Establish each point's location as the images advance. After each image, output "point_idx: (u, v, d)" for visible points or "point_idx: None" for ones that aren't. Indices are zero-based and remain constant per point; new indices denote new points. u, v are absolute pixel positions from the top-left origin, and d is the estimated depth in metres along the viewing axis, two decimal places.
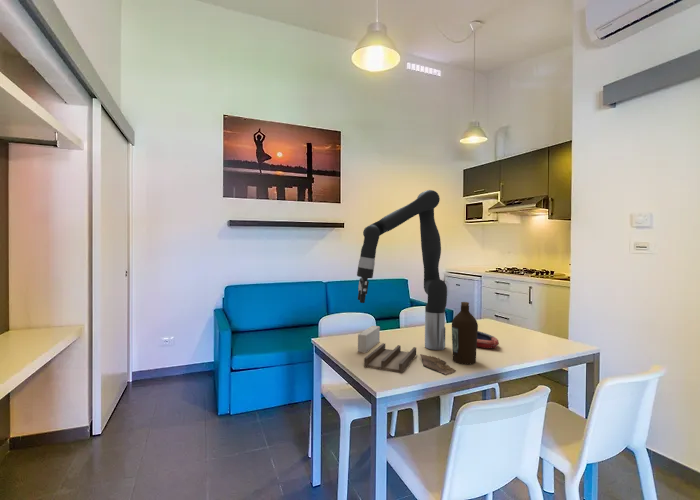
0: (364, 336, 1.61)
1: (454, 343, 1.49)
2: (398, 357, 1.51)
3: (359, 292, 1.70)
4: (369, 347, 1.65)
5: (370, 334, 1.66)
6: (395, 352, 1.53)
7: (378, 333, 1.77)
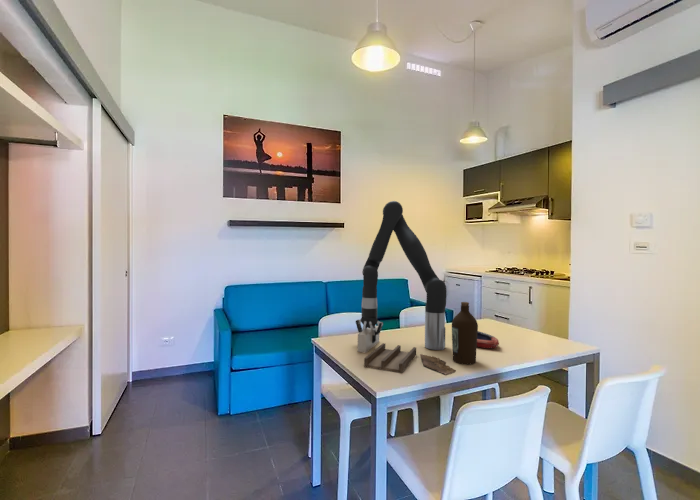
0: (364, 336, 1.61)
1: (454, 343, 1.49)
2: (398, 357, 1.51)
3: None
4: (369, 347, 1.65)
5: (370, 334, 1.66)
6: (395, 352, 1.53)
7: None
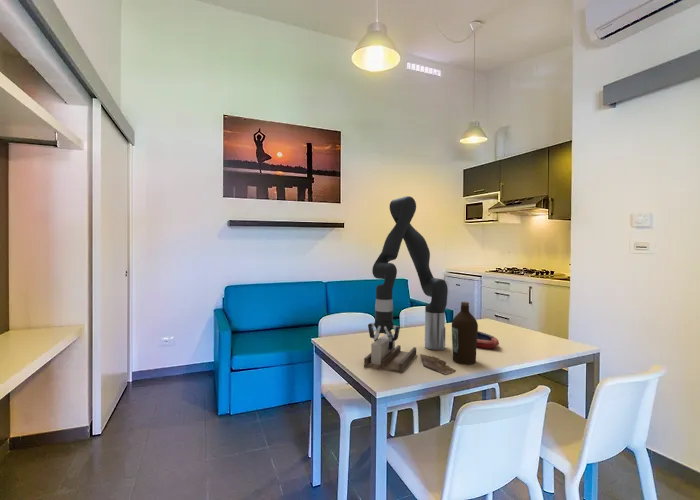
0: (378, 346, 1.41)
1: (454, 343, 1.49)
2: (398, 357, 1.51)
3: None
4: None
5: (385, 343, 1.46)
6: (395, 352, 1.53)
7: (393, 341, 1.58)
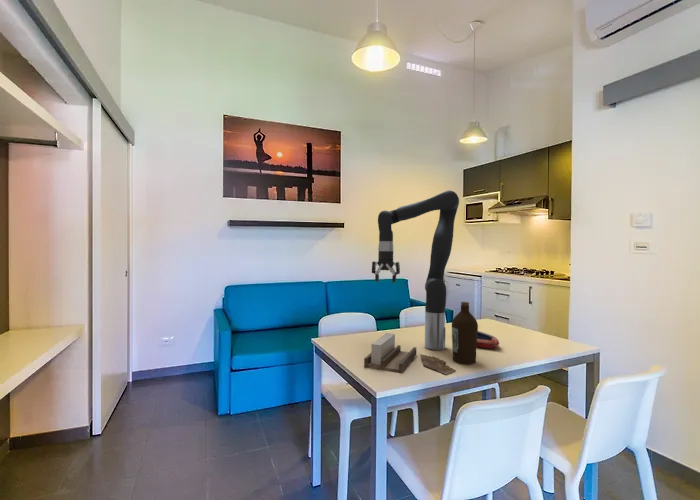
0: (378, 346, 1.41)
1: (454, 343, 1.49)
2: (398, 357, 1.51)
3: (377, 274, 1.81)
4: None
5: (385, 343, 1.46)
6: (395, 352, 1.53)
7: (393, 341, 1.58)
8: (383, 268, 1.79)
